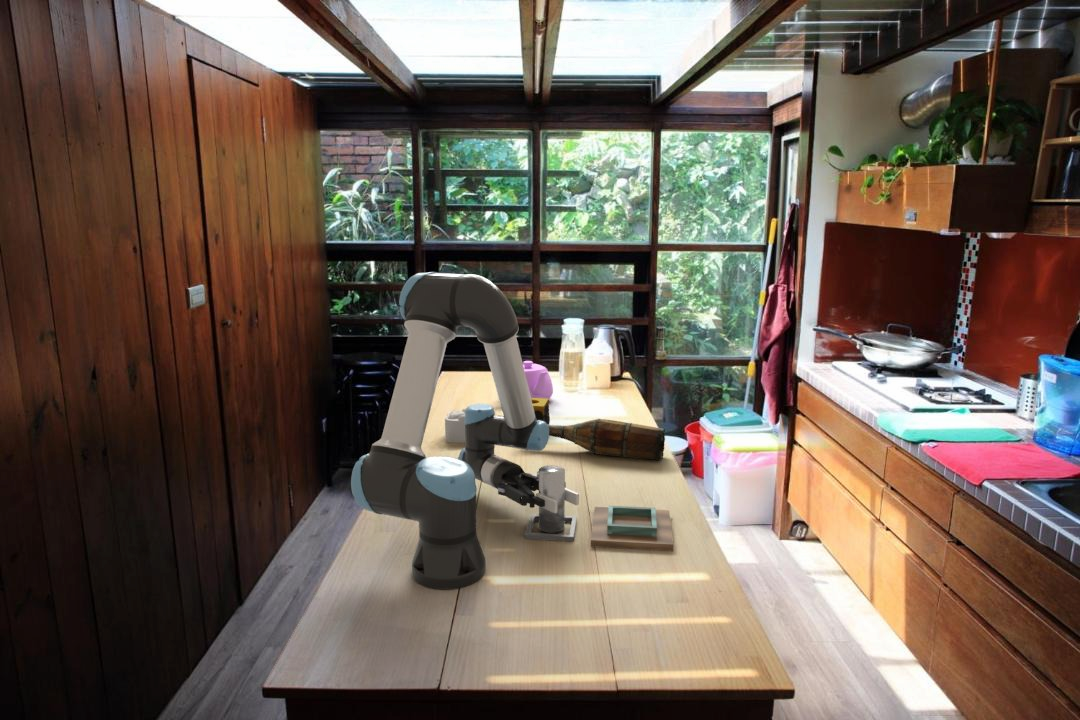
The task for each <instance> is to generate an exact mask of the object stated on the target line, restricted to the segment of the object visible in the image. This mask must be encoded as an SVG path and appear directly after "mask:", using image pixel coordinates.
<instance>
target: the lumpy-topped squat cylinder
mask: <svg viewBox="0 0 1080 720" xmlns="http://www.w3.org/2000/svg"><path fill="white" fill-rule="evenodd" d="M466 408H467V407H466ZM466 408H463V409H462V410H452V411H451V412H448V413H447V414H446V417H445V418H444V427H445V428H444V430H445V431H444V432H445V434H444V435H445V442H447V443H457V444H459V443H461V444H465V425H464V423H465V410H466Z"/></svg>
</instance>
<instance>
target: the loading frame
mask: <svg viewBox="0 0 1080 720" xmlns="http://www.w3.org/2000/svg"><path fill="white" fill-rule="evenodd" d="M535 521H539V513H538V514H535V513H531V514H530V517H529V520H528V523H527V527H526V531H525V533H524V539H526V540H527V539H528V540H546V541H560V542H561V541H563V542H565V541H566V542H574V541H575V540H574V539H575V534H576V528H577V523H578V515H577V516H574V515H565V522H568V523H569V522H570V523H571V524H570V529H569V534H562V533H561V534H560V533H540V532H533V527H534V524H535Z"/></svg>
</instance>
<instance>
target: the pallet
mask: <svg viewBox="0 0 1080 720" xmlns="http://www.w3.org/2000/svg"><path fill="white" fill-rule="evenodd" d="M593 510H594V511H593V518H592V526H591V535H590V547H594V548H595V547H598V548H601V547H602V548H616V549H633V550H649V551H651V550H653V551H654V550H655V551H668V552H670V551H672V552H673V551H674V539H673V532H672V523H671V514H670V510H669V509H656V507H648V506H647V507H645V506H626V505H621V506H620V505H608V506H607V507H606V506H594V509H593Z"/></svg>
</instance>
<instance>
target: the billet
mask: <svg viewBox="0 0 1080 720" xmlns="http://www.w3.org/2000/svg"><path fill="white" fill-rule="evenodd" d="M538 471H539V490H538V493H540V494H542V495H545V496H547V497H549V498H551V499H554V500H556V501H557V513H553V512H551V511H548V510H546V509H544V508H542V507H539V506H538V514H539V520H538V529H539V530H540V531H542V532H544V533H548V534H555V533H559V532H562V531H563V530H564V529H565V516H566V515H565V511H566V510H565V508H566V507H565V505H566V504H565V502H566V501H565V482H566V469H565V468H564V467H562V466H561V465H560V466H559V465H550V464H549V465H544V466H542V467H539V469H538Z"/></svg>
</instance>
